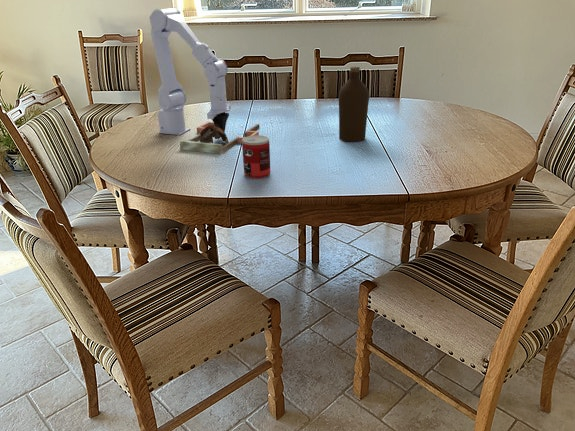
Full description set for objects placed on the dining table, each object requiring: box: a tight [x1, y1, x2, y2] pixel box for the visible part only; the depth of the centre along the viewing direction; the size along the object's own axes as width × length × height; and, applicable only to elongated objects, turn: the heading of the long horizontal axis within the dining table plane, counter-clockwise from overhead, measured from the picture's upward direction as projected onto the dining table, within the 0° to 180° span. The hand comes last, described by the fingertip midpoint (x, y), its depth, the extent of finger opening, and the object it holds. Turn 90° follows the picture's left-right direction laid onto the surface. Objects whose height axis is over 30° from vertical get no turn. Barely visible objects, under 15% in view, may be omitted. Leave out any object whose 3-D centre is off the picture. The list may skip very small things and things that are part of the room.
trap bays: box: [196, 121, 260, 144], centre depth 182 cm, size 25×16×2 cm, turn 70°
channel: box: [178, 123, 260, 155], centre depth 178 cm, size 16×32×3 cm, turn 160°
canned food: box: [241, 134, 271, 179], centre depth 143 cm, size 8×8×11 cm
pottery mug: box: [198, 124, 230, 145], centre depth 171 cm, size 12×10×8 cm
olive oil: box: [338, 66, 370, 143], centre depth 170 cm, size 11×11×25 cm
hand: (221, 133), depth 178 cm, fingers closed
